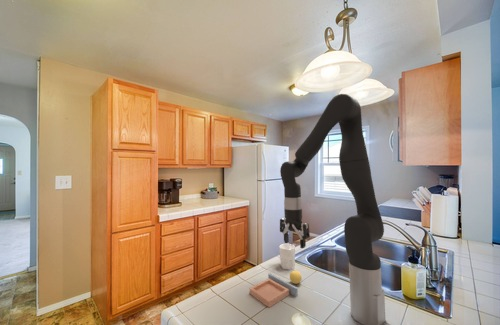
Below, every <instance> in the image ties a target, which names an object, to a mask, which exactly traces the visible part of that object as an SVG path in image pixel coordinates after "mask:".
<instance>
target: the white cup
mask: <svg viewBox="0 0 500 325" xmlns="http://www.w3.org/2000/svg"><path fill="white" fill-rule="evenodd" d="M278 248H279V259H280V260H279V261H280V267H281V268H282V269H283V270H289V271H290V270H293V269H295V266H296V265H295V264H296V263H295V262H296V246H295V245H294V244H291V243H282V244H280V245H279V246H278Z"/></svg>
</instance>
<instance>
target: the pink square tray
mask: <svg viewBox="0 0 500 325" xmlns="http://www.w3.org/2000/svg"><path fill="white" fill-rule="evenodd" d="M249 295H251V296H252V297H254V298H255V299H256V300H258V301H259V302H261V303H262V304H264V306H265V305H266V306H267V307H268V308H270V307H272V306H274V305H275V304H276V303H278V302H280V301H282V300H283V299H285V298H287V297H288V296H290V293H289V289H287V288H285V287H284V286H282V285H280V284H278V283H276V282H275V281H273V280H271V279H268V278H266V279H265V280H264V281H262V282H259V283H257V284H255V285H253V286H252V287H249Z"/></svg>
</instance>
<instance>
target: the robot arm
mask: <svg viewBox="0 0 500 325" xmlns="http://www.w3.org/2000/svg"><path fill="white" fill-rule="evenodd" d="M336 125H339V128H340V129H339V130H340V133H341V134H340V135H341V144H340V149H339V156H338V160H339V167H340V175H341V177H342V180H343V182H344V184H345V185H346V187H347V189H348V190H349V192H350V194H351V195H352V196H353V199H354V201H355V205H356V214H355V215H351V216H349V217H348V218H346V220H345V223H344V226H343V227H344V230H343V232H344V234H343V235H344V244H345V252H346V255H347V256H348V268H349V270H348V274H349V298H350V299H349V300H350V315H351V317H352V318H353V320H355V321H356V322H358V323H359V324H361V325H383V324H384V323H385V322H386V303H385V301H386V298H385V290H384V288H383V287H382V286H383V285H382V284H383V283H382V268H381V267H382V266H381V265H382V262H381V258H380V256H379V255H378V254H376V253H374V252H373V243H376V242H378V241H380V240H382V238H383V236H384V233H385V228H384V223H383V219H382V216H381V213H380V209H379V206H378V201H377V198H376V195H375V194H376V193H375V187H374V184H373V178H372V171H371V165H370V160H369V155H368V150H367V146H366V141H365V138H364V132H363V122H362V107H361V105H360V102H359V101H358V100H357V99H356V98H354V97H352V96H351V95H349V94H347V93H340V94H337V95H335V96H334V97H332V99H331V100H330V101H329V102H328V103H327V105H326V107H325V109H324V110H323V112H322V114H321V115H320V118H318V120H317V122H316V124H315V126H314V127H313V129H312V130H311V132H310V134H309V135H308V136H307V137H306V139H304V141H303V142H302V144H301V145H300V146H299V147H298V148H297V150H296V151H295V153H294V157H295V159H294V160H293V161H285V162H282V164H281V166H280V168H279V169H280V170H279V173H280V177H281V181H282V185H283V188H284V190H283V191H284V200H283V206H284V208H283V209H284V211H283V212H284V217H283V218H280V219H279V232H280V233H282V234H283V242H284V244H290V243H289V242H290V237H289V236H290V235H289V232H294V233H295V234H296V235H297V236H298V237H299V247H300V249H303V250H304V249H305V248H306V245H307V244H306V241H307V239H309V238H310V237H311V236H310V225H309V223H308V222H306V223H304V222H303V221H302V220H303V206H302V205H303V203H302V202H303V201H302V194H301V193H302V191H301V188H302V187H301V185H300V184H299V183H297V181H296V178H298V177H300V176H301V175H302V174H303V173H305V170H306V169H307V167H308V165H309V163H310V162H311V161H312V160H313V159H314V158H315V156H316V155H317V154H318V153H319V152H320V151H321V149H322V147H323V145H324V142H325V141H326V139H327V136H328V134H330V132H331V130H332V129H333V128H334V127H335V126H336Z"/></svg>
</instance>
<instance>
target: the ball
mask: <svg viewBox="0 0 500 325" xmlns="http://www.w3.org/2000/svg"><path fill="white" fill-rule="evenodd" d="M302 279H303V278H302V274H301V273H300V271H298V270H292V271H291V272H290V273H289V280H290V282H291V283H293V284H295V285H298V284H300V283H301V282H302Z"/></svg>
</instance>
